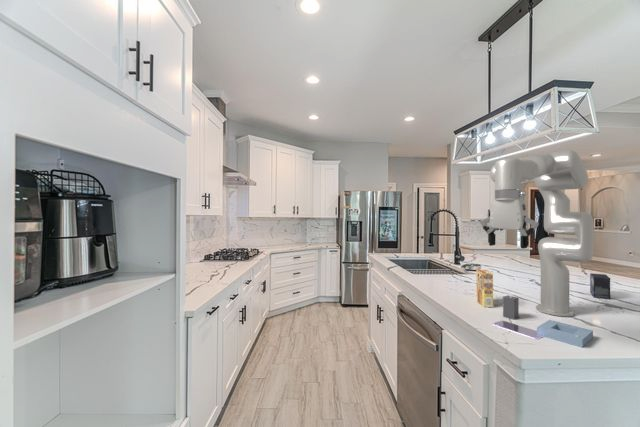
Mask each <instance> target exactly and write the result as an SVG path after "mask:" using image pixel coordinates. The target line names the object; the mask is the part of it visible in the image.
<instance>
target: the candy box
mask: <svg viewBox="0 0 640 427" xmlns="http://www.w3.org/2000/svg"><path fill="white" fill-rule="evenodd" d="M476 301H477V303H478V304H479V305H481V306H482V307H484V308H494V274H493V272H492V271H491V272H490V271H489V270H488V269H482V268H481V269H476Z"/></svg>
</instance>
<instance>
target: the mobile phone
mask: <svg viewBox="0 0 640 427" xmlns="http://www.w3.org/2000/svg"><path fill="white" fill-rule="evenodd" d="M491 325H492V326H493V327H495V328H499V329H502V330H504V331H508V332H511V333H514V334H517V335H519V336H523V337H526V338H529V339H533V340H535V341H536V340H540V339H543V338H544V335H542V334H538V333H537V330H536V329H532V328H528V327H525V326H521V325H519V324H516V323H512V322H509V321H505V320H499V321H496V322H493V323H492V324H491Z"/></svg>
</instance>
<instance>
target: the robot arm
mask: <svg viewBox="0 0 640 427" xmlns="http://www.w3.org/2000/svg"><path fill="white" fill-rule="evenodd" d="M489 176H490V179H491V181H492V182H494V199H493V200H492V203H491V206H490V213H489V214H490V215H489V217H487V218H484V219H482V220H481V221H480V225H481V226H482V229H483V230H484V231H485V232H486V234H487V243H488V245H489V246H491V247H492V246H495V245H496V231H497V230H509V231H510V230H511V231H513V230H514V231H517V230H518V231H519V232H520V234H521V236H520V248H521V249H527V248H528V247H529V243H530V242H529V241H530V239H529V238H530V236H531V235H532V234H533V233H534V232H535V231H536V229H537V228H538V226H539V224H540V222H538V221H536V220H534V219H531V218H529V217H528V210H527V204H526V200H525V199H523V197H525V196H527V192H526V191H523V190H522V183H524V182H525V183H526V182H531V181H533V180H534V184H535V186H536V188H537V190H538V191H539V193H540V194H541V196H542V198H543V201H544V210H543V228H544V231H545V232H546V233H549V234H553V235H567V236H576V238H573V237H571V238H570V237H556V236H546V237H543V238H541V239H539V240H538V244H537V250H538V255H539V261H540V262H539V263H540V304H537V305H536V306H535V309H536V310H537V311H539V312H541V313H543V314H547V315H552V316H557V317H565V318H566V317H568V318H569V317H574V315H575V311H574V310H572V309H570V271H569V270H570V269H569V268H568V267H567V266H566V264H565V263H564V262H570V263H571V262H572V263H582V264H585V263H589V262H591V260H592V259H593V256H594V236H595V235H594V234H595V233H594V232H595V222H594V218H593V216H592V215H591V214H590V213H589V212H584V211H571V200H570V198H569V197H568V195H567V194H566V193H564V191H565V190H579V189H582V188H584V187H586V186H587V184H588V183H589V182H588V181H589V174H588V170H587V169H586V167H585V164H584V162H583V160H582V158H581V157H580V155H579V154H578V152H576V151H574V150H572V149H565V150H559V151H557V150H556V151H550V152H542V153H539V154H534V155H529V156H525V157H520V158H515V157H509V158H502V159H498V160H496V161H495V164H494V165H492V167H491V169H490V171H489ZM563 190H564V191H563ZM487 223H489V225H488V224H487ZM528 224H530V228H528ZM527 228H528V229H527Z"/></svg>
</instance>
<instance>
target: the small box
mask: <svg viewBox="0 0 640 427" xmlns="http://www.w3.org/2000/svg"><path fill="white" fill-rule="evenodd" d="M589 286H590V289H589V291H590V294H591V296H592V297H593V298H595V299H604V300H611V278H610V277H609V275H607V274H603V273H591V272H590V274H589Z"/></svg>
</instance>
